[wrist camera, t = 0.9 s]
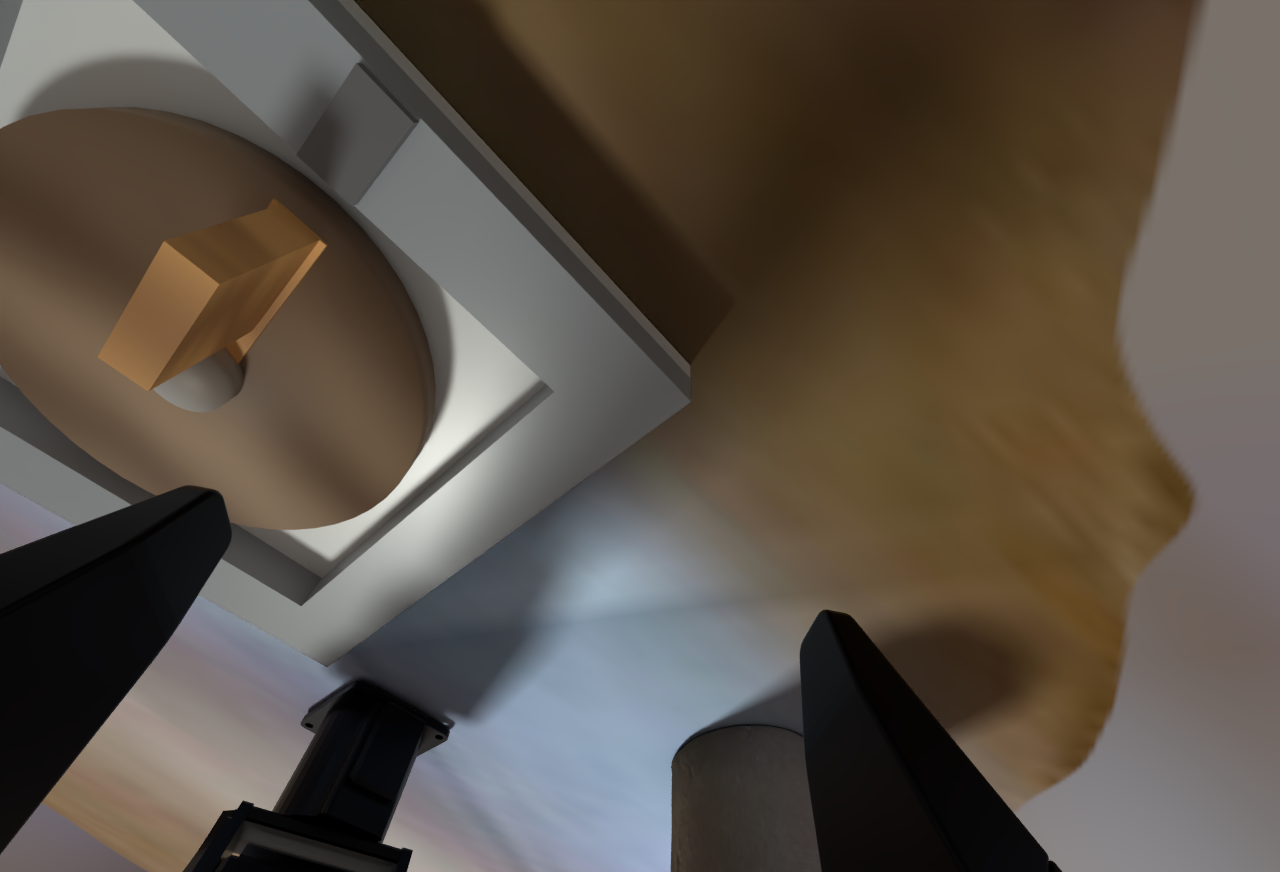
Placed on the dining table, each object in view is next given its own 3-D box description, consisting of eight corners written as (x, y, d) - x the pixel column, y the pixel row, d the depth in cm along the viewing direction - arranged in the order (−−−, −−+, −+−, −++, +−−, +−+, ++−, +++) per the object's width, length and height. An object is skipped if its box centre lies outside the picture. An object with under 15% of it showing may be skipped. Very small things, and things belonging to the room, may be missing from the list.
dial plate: (354, 621, 28) (323, 672, 26) (-166, 304, 20) (-283, 335, 18) (690, 365, 19) (691, 406, 17) (-2, -385, 11) (-191, -514, 9)
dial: (309, 560, 24) (226, 667, 20) (-56, 328, 19) (-279, 403, 14) (519, 370, 18) (468, 461, 14) (79, -34, 13) (-218, -91, 9)
